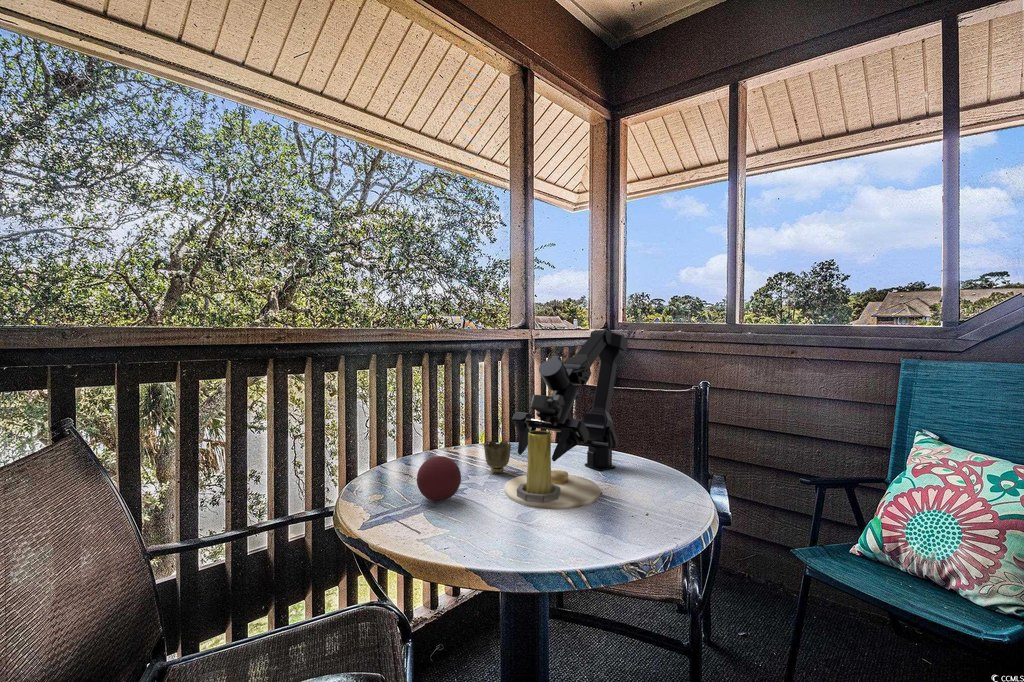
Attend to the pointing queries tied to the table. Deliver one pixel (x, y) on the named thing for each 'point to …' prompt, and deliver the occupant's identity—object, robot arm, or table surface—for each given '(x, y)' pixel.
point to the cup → (497, 455)
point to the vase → (539, 463)
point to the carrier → (555, 491)
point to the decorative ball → (438, 478)
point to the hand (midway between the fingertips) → (535, 457)
